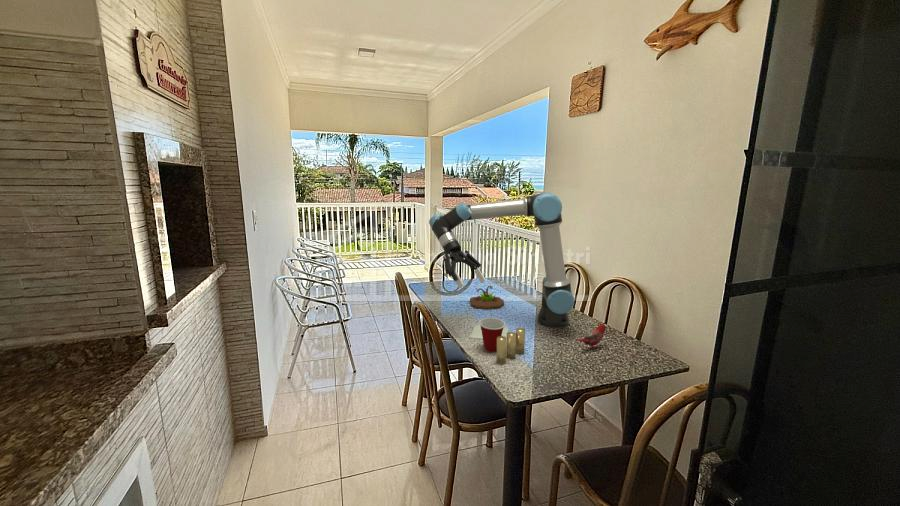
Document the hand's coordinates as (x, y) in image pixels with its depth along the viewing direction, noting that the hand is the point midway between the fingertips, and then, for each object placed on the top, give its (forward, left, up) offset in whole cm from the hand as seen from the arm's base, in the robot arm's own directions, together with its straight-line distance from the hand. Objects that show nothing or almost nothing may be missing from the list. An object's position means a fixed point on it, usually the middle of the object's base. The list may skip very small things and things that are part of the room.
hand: (472, 284), depth 158 cm
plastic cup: (-9, +7, -26) cm, 29 cm away
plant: (+1, -52, -26) cm, 59 cm away
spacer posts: (-18, +12, -26) cm, 34 cm away
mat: (-6, -10, -26) cm, 28 cm away
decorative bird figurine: (-49, -2, -26) cm, 56 cm away
